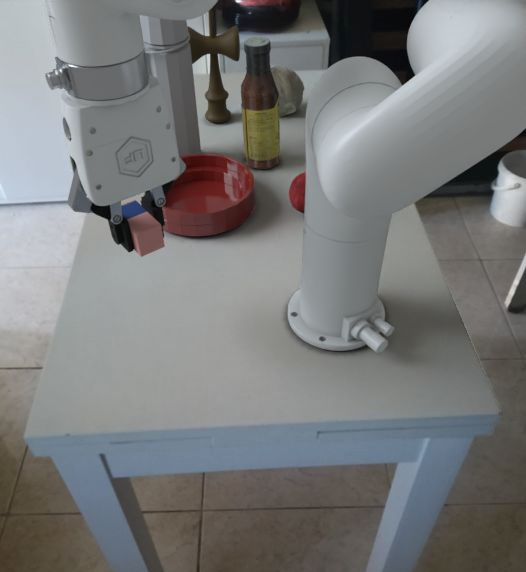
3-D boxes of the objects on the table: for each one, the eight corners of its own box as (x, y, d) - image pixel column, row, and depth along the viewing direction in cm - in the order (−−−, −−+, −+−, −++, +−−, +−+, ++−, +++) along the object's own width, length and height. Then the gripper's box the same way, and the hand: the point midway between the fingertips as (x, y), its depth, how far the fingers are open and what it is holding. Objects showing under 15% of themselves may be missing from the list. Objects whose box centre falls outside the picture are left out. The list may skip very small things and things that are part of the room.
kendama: (194, 112, 114) (182, 0, 99) (242, 110, 114) (237, -2, 99) (193, 127, 110) (180, 12, 95) (243, 125, 110) (238, 10, 95)
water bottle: (190, 146, 105) (172, -8, 86) (210, 165, 100) (196, 7, 82) (144, 160, 102) (115, 4, 83) (163, 180, 97) (137, 20, 79)
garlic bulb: (300, 125, 115) (319, 81, 106) (265, 130, 111) (282, 85, 102) (278, 94, 118) (294, 49, 110) (243, 97, 114) (257, 51, 106)
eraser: (165, 246, 64) (161, 224, 61) (140, 257, 62) (135, 234, 60) (139, 221, 67) (134, 198, 65) (115, 231, 66) (110, 208, 63)
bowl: (276, 211, 91) (276, 186, 87) (184, 253, 84) (181, 228, 81) (215, 166, 100) (213, 142, 97) (128, 201, 93) (123, 177, 90)
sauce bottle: (287, 163, 101) (289, 42, 86) (258, 175, 98) (255, 53, 83) (264, 148, 104) (262, 30, 89) (236, 159, 102) (230, 40, 87)
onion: (322, 226, 88) (325, 180, 82) (285, 222, 89) (286, 176, 83) (327, 205, 92) (330, 159, 86) (291, 201, 93) (293, 156, 87)
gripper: (33, 114, 46) (88, 286, 59) (205, 62, 52) (219, 228, 66) (0, 82, 50) (59, 250, 63) (164, 37, 56) (185, 199, 70)
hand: (140, 237), depth 64 cm, fingers closed on eraser, 3 cm apart
